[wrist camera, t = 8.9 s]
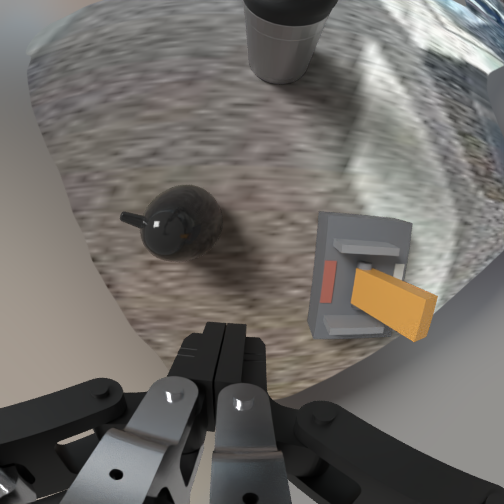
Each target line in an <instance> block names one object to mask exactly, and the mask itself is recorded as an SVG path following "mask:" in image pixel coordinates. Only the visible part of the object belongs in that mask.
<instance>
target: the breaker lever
mask: <svg viewBox="0 0 504 504" xmlns="http://www.w3.org/2000/svg"><path fill="white" fill-rule="evenodd" d="M437 297H438V296H436V295H434V294H432V293H430V292H427V291H425V290H423V289H420V288H418V287H416V286H414V285H411V284H409V283H407V282H404V281H402V280H400V279H397V278H395V277H393V276H390V275H388V274H385V273H383V272H381V271H378V270H376V269H374V268H372V263H370V262H366V261H358V266H357V268H356V273H355V280H354V286H353V292H352V298H351V307H352V308H353V309H355V310H363V311H364V312H366V313H368V314H369V315H371V316H373V317H374V318H376V319H378V320H379V321H381V322H382V323H384V324H386V325H387V326H389V327H391V328H392V329H394V330H395V331H397V332H399V333H400V334H402V335H403V336H405V337H407V338H408V339H410V340H412V341H413V342H415V341H418V340H420V339H422V338H425V337H426V336H427V333H428V330H429V327H430V323H431V320H432V316H433V313H434V309H435V305H436V301H437Z"/></svg>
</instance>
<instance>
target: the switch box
mask: <svg viewBox="0 0 504 504" xmlns="http://www.w3.org/2000/svg"><path fill="white" fill-rule="evenodd" d="M411 232H412V223H410V222H406V221H403V220H399V219H395V218H387V217H378V216H368V215H357V214H346V213H335V212H322V211H319V216H318V229H317V241H316V251H315V262H314V271H313V280H312V289H311V297H310V305H309V312H308V320H307V321H308V324H309V327H310V330H311V333H312V336H313V339H350V338H374V337H391V333H392V330H393V329H392V328H391V327H389V326H387V325H386V324H384V323H382V322H381V321H379V320H378V319H376V318H374V317H373V316H371V315H369V314H368V313H366V312H364V311H363V310H355V309H353V308H352V307H351V298H352V292H353V286H354V280H355V273H356V268H357V266H358V261H366V262H370V263H372V268H374V269H376V270H378V271H381V272H383V273H385V274H388V275H390V276H393V277H395V278H397V279H400V280H402V281H404V277H405V272H406V266H407V260H408V254H409V247H410V240H411Z"/></svg>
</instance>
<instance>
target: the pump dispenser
mask: <svg viewBox="0 0 504 504" xmlns="http://www.w3.org/2000/svg"><path fill="white" fill-rule="evenodd" d="M120 220H121V221H123V222H125V223H128V224H130V225H133V226H135V227H138V228H140V234H141V239H142V242H143V244H144V246H145V247H146V249H147V250H148V251H149V252H150V253H151V254H152V255H154V256H155V257H157V258H159V259H161V260H165V261H170V262H184V261H189V260H193V259H196V258H198V257H200V256H202V255H204V254H205V253H207V252H208V251H209V250H210V249H211V248H212V247H213V246H214V245H215V244H216V242H217V240H218V239H219V237H220V234H221V231H222V224H223V219H222V213H221V209H220V207H219V205H218V203H217V201H216V200H215V198H214V197H213V196H212V195H211V194H210V193H209V192H207V191H206V190H204V189H202V188H200V187H198V186H194V185H179V186H175V187H172V188H170V189H168V190H166V191H164V192H162V193H161V194H159V195H158V196H157V197H156V198H154V199H153V200H152V202H151V203H150V204H149V205H148V207H147V208H146V210H145V212H144V214H143V216H142V215H137V214H133V213H129V212H122V213H121V215H120Z"/></svg>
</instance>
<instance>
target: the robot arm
mask: <svg viewBox="0 0 504 504" xmlns="http://www.w3.org/2000/svg"><path fill="white" fill-rule="evenodd" d="M337 1H338V0H243V2H244V13H245V23H246V34H247V46H248V59H249V65H250V67H251V69H252V71H253V72H254V73H255V75H257V76H258V77H259V78H261V79H262V80H264V81H266V82H269V83H274V84H287V83H291V82H294V81H296V80H297V79H299V78H300V77H301V76H302V75H303V74H304V73H305V71H306V69H307V67H308V64H309V62H310V60H311V57H312V55H313V53H314V50H315V48H316V45H317V43H318V41H319V38H320V36H321V33H322V31H323V29H324V26H325V24H326V21H327V19H328V17H329V14H330V12H331V10H332V8H333V7H334V6H335V5H336V3H337ZM215 427H216V434H215V449H214V451H213V454H212V468H211V486H210V504H292V502H291V496H290V491H289V485H288V480H289V481H290V482H292V483H293V484H294V485H295V486H296V487H297V488H299V489H300V490H301V491H302V492H304V493H305V494H306V495H308V496H309V497H310V498H311V499H313V500H314V501H315V502H317V503H318V504H504V488H503V487H501V486H499V485H496V484H494V483H491V482H488V481H486V480H483V479H480V478H478V477H475V476H473V475H470V474H468V473H465V472H463V471H461V470H459V469H456V468H454V467H452V466H449V465H447V464H445V463H443V462H441V461H439V460H437V459H434V458H432V457H430V456H428V455H426V454H424V453H422V452H420V451H418V450H416V449H414V448H412V447H410V446H409V445H406V444H405V443H403V442H401V441H399V440H397V439H395V438H394V437H392V436H390V435H388V434H386V433H384V432H382V431H381V430H379V429H377V428H376V427H374V426H372V425H370V424H368V423H367V422H365V421H364V420H362V419H360V418H359V417H357V416H355V415H354V414H352V413H350V412H349V411H347V410H345V409H344V408H342V407H341V406H339V405H337V404H334V403H332V402H328V401H313V402H310V403H307V404H305V405H303V406H302V407H301V408H300V409H299V410H297V409H292V408H288V407H285V406H281V405H280V404H278V403H276V402H275V401H273V400H272V399H271V398H270V396H269V395H268V392H267V380H266V348H265V344H264V343H263V341H262V340H261V339H260V338H257V337H246V324H233V323H227V325H226V323H218V322H207V323H206V326H205V329H204V331H203V334H201V333H192V334H190V335H189V336H188V337H186V338H185V339H184V341H183V343H182V345H181V348H180V349H179V351H178V355H177V356H176V358H175V360H174V362H173V365H172V367H171V369H170V371H169V373H168V375H167V377H165V378H162V379H159V380H157V381H156V382H155V383H153V385H152V386H151V387H150V389H149V390H148V391H147V392H138V393H123V389H122V387H121V385H120V384H119V383H118V382H116V381H114V380H112V379H108V378H96V379H92V380H89V381H86V382H83V383H81V384H78V385H75V386H72V387H69V388H66V389H63V390H60V391H57V392H54V393H51V394H48V395H44V396H41V397H38V398H35V399H32V400H28V401H25V402H21V403H18V404H15V405H11V406H8V407H4V408H0V504H190V492H191V488H192V485H193V482H194V479H195V476H196V472H197V469H198V466H199V463H200V460H201V456H202V453H203V449H204V440H205V436H206V431H212V432H214V431H215ZM90 429H93V430H94V432H95V433H94V434H91V435H89V436H86V437H84V438H82V439H79V440H76V441H74V442H71V443H68V444H65V445H60V444H57V442H59V441H61V440H64V439H67V438H69V437H72V436H74V435H77V434H80V433H83V432H85V431H88V430H90ZM66 489H67V490H66ZM63 490H64V491H63ZM60 491H62V492H60ZM57 492H59V493H57ZM54 493H56V494H54ZM51 494H54V495H51ZM48 495H51V496H48ZM45 496H48V497H45ZM41 497H45V498H43V499H39V500H36V499H38V498H41Z"/></svg>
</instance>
